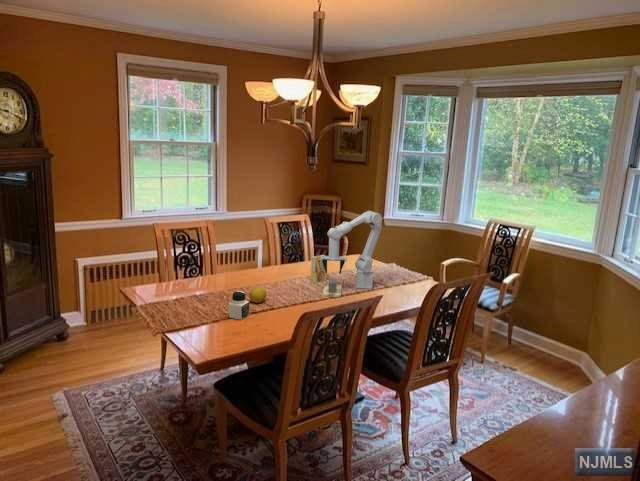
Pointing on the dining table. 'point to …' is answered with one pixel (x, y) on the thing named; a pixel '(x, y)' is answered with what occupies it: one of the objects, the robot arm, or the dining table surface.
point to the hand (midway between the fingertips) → (333, 273)
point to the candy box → (317, 269)
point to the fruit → (257, 294)
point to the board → (338, 293)
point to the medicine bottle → (238, 306)
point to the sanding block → (332, 286)
